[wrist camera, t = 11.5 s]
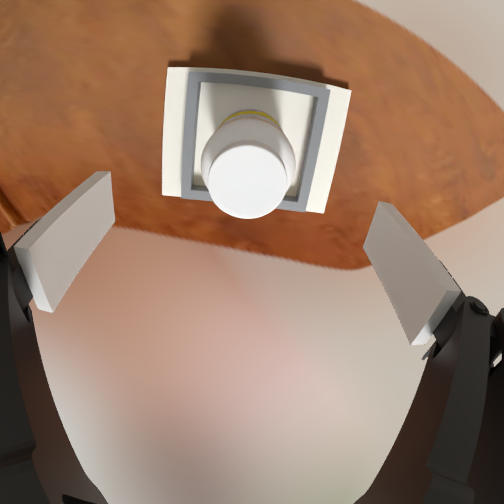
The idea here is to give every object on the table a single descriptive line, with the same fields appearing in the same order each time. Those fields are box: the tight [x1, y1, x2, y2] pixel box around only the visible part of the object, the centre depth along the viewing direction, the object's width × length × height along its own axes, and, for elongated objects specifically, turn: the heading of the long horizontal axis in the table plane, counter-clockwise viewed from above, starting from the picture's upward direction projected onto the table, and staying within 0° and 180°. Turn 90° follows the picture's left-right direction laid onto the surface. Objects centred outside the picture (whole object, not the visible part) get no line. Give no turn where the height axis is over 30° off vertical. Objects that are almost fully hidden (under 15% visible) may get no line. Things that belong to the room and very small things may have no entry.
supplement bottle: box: [201, 109, 296, 219], centre depth 22 cm, size 7×7×13 cm
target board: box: [162, 67, 351, 213], centre depth 27 cm, size 18×14×2 cm
